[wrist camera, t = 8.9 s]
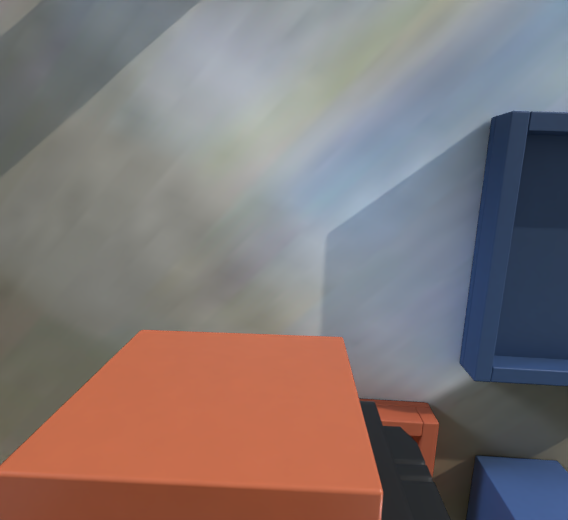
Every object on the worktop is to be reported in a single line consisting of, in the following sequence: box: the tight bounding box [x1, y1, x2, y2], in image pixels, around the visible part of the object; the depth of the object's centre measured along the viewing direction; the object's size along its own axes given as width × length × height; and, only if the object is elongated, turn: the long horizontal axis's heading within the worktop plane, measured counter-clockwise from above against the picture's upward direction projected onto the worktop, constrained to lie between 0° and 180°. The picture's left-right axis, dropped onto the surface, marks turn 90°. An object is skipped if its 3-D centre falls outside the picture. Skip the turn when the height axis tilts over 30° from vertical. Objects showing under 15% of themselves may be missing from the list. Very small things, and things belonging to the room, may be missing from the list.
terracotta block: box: [0, 330, 383, 520], centre depth 7 cm, size 4×4×4 cm
